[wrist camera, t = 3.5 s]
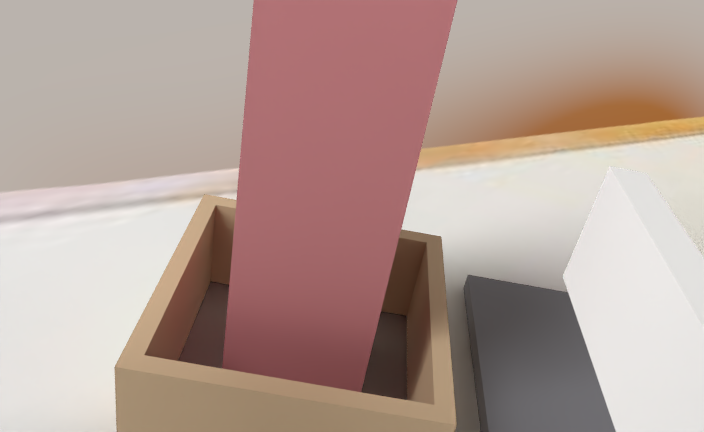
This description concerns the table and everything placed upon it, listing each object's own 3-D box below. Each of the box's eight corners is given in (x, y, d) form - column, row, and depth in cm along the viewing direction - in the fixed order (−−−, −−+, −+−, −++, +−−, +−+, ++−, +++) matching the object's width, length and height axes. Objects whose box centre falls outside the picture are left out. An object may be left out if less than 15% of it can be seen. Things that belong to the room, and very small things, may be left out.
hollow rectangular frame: (420, 308, 38) (441, 236, 35) (426, 507, 27) (456, 425, 24) (200, 270, 37) (204, 194, 35) (117, 456, 27) (114, 366, 24)
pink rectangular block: (359, 338, 35) (452, -66, 24) (351, 429, 30) (465, -32, 19) (246, 319, 35) (290, -97, 24) (218, 407, 30) (259, -71, 19)
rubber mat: (625, 316, 40) (631, 303, 40) (717, 529, 29) (727, 515, 28) (463, 287, 40) (468, 274, 40) (488, 490, 28) (494, 476, 28)
